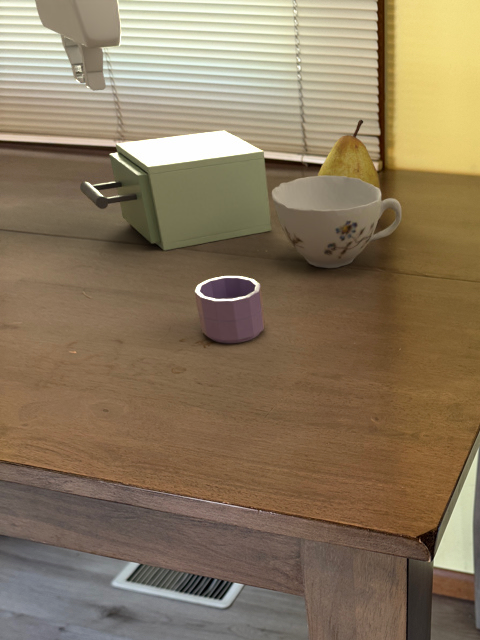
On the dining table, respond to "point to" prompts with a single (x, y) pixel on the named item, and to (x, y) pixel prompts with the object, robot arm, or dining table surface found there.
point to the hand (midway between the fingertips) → (90, 85)
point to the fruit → (350, 160)
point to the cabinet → (203, 186)
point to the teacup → (331, 217)
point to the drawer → (128, 196)
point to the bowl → (230, 308)
